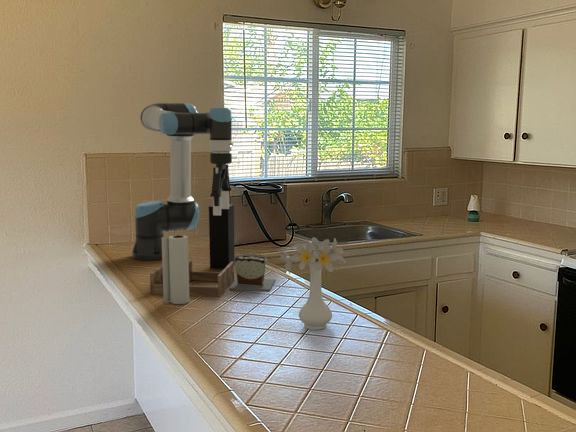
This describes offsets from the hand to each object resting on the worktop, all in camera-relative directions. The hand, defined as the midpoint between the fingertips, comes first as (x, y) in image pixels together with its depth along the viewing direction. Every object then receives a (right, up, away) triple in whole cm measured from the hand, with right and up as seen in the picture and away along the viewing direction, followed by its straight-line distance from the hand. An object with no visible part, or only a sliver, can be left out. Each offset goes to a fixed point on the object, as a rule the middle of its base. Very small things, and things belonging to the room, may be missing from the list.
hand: (221, 212), depth 217 cm
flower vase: (+31, -33, -46) cm, 65 cm away
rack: (-9, -26, -5) cm, 28 cm away
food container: (+11, -25, -2) cm, 28 cm away
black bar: (-2, -22, +25) cm, 33 cm away
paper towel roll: (-11, -29, -22) cm, 38 cm away
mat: (+11, -26, -2) cm, 28 cm away
